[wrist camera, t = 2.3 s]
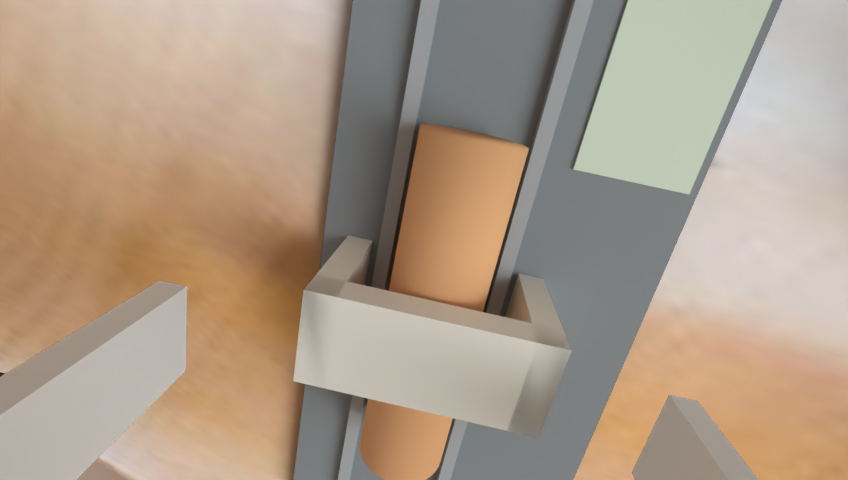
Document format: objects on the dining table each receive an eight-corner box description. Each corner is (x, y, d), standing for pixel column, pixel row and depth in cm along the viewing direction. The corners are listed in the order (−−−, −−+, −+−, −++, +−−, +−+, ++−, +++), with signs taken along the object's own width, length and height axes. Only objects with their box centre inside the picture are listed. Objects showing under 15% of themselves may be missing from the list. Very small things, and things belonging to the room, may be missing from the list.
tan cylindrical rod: (426, 121, 14) (412, 129, 11) (523, 142, 14) (535, 155, 11) (370, 408, 18) (349, 471, 15) (444, 426, 18) (437, 494, 15)
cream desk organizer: (348, 235, 15) (303, 289, 11) (543, 278, 15) (571, 350, 11) (338, 306, 17) (293, 381, 12) (520, 348, 16) (538, 437, 12)
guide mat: (372, -109, 12) (364, -125, 12) (781, -27, 12) (807, -36, 11) (296, 483, 21) (287, 502, 20) (538, 541, 20) (542, 562, 19)
